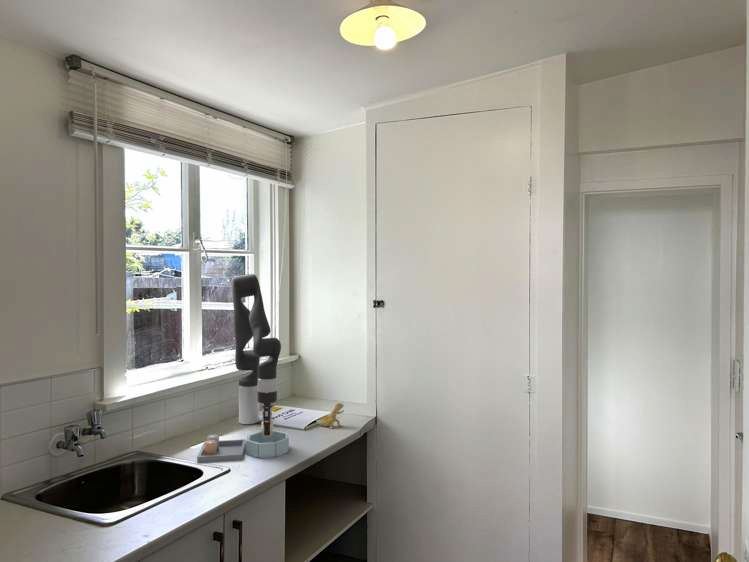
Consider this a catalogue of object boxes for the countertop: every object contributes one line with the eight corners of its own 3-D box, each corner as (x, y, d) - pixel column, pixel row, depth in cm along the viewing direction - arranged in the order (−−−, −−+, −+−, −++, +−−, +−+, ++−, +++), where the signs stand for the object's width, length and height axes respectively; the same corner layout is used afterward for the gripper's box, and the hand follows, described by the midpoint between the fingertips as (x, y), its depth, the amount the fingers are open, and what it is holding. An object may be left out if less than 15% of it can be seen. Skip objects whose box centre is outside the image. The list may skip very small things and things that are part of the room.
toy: (345, 423, 232) (339, 401, 235) (315, 433, 236) (310, 411, 239) (351, 423, 238) (345, 401, 241) (321, 432, 242) (316, 411, 245)
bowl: (248, 445, 212) (248, 431, 212) (288, 443, 215) (288, 429, 215) (245, 459, 197) (245, 444, 197) (288, 456, 199) (288, 442, 199)
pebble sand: (261, 434, 207) (261, 420, 207) (273, 433, 208) (273, 420, 208) (261, 437, 203) (261, 423, 203) (272, 437, 204) (272, 423, 204)
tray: (204, 446, 211) (204, 441, 211) (245, 444, 213) (245, 439, 213) (197, 462, 193) (197, 456, 193) (242, 460, 196) (242, 454, 195)
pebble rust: (205, 454, 201) (205, 440, 201) (217, 454, 201) (217, 439, 201) (203, 458, 196) (203, 444, 196) (215, 458, 197) (215, 443, 197)
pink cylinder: (208, 448, 208) (208, 434, 208) (219, 448, 208) (219, 434, 208) (206, 452, 203) (206, 438, 203) (218, 451, 204) (218, 437, 204)
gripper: (258, 386, 212) (258, 428, 212) (256, 393, 198) (256, 439, 198) (277, 385, 213) (277, 427, 213) (276, 393, 199) (276, 438, 199)
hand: (267, 433), depth 206 cm, fingers closed on pebble sand, 4 cm apart
